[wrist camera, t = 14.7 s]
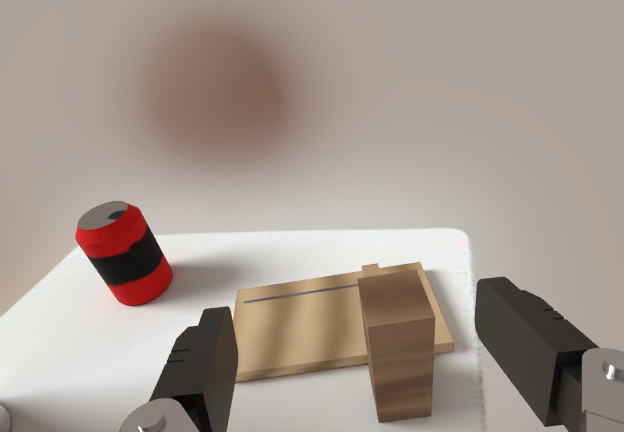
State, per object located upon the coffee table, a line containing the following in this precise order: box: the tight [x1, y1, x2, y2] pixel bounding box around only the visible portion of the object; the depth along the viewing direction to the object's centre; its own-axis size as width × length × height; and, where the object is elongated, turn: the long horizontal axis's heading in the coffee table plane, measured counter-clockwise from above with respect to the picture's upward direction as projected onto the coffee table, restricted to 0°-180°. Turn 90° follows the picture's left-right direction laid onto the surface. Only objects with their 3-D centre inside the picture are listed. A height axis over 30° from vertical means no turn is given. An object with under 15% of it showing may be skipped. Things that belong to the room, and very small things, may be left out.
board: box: [233, 262, 454, 382], centre depth 40 cm, size 22×11×2 cm, turn 94°
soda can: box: [75, 201, 172, 305], centre depth 47 cm, size 8×8×12 cm
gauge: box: [357, 263, 436, 423], centre depth 34 cm, size 15×4×13 cm, turn 4°
